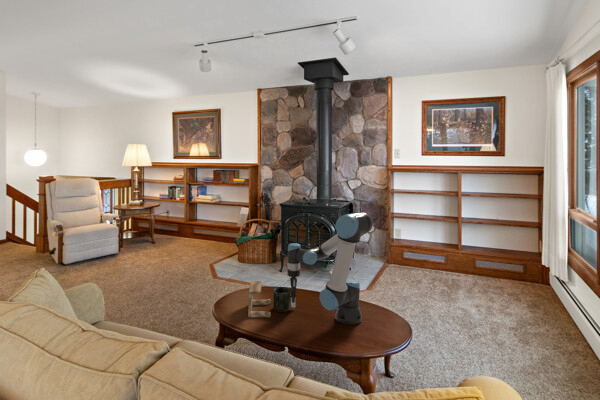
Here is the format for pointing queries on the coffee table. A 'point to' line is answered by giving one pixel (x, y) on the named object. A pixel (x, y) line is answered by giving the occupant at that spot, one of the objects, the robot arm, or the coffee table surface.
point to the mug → (281, 299)
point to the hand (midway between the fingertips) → (293, 306)
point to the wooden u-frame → (256, 289)
